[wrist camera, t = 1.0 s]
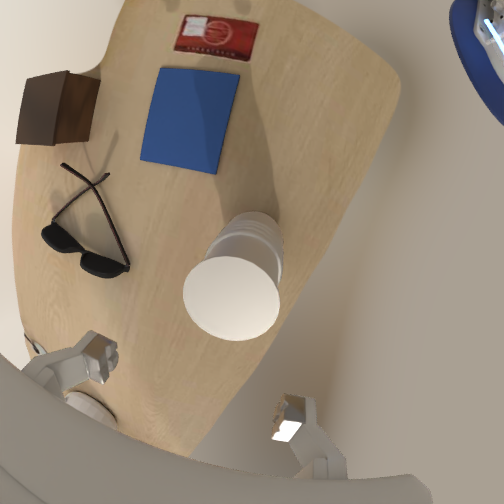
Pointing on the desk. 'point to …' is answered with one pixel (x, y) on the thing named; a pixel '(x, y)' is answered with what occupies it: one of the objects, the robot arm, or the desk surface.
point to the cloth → (189, 118)
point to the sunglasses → (68, 244)
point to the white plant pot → (91, 408)
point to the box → (57, 109)
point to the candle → (238, 279)
